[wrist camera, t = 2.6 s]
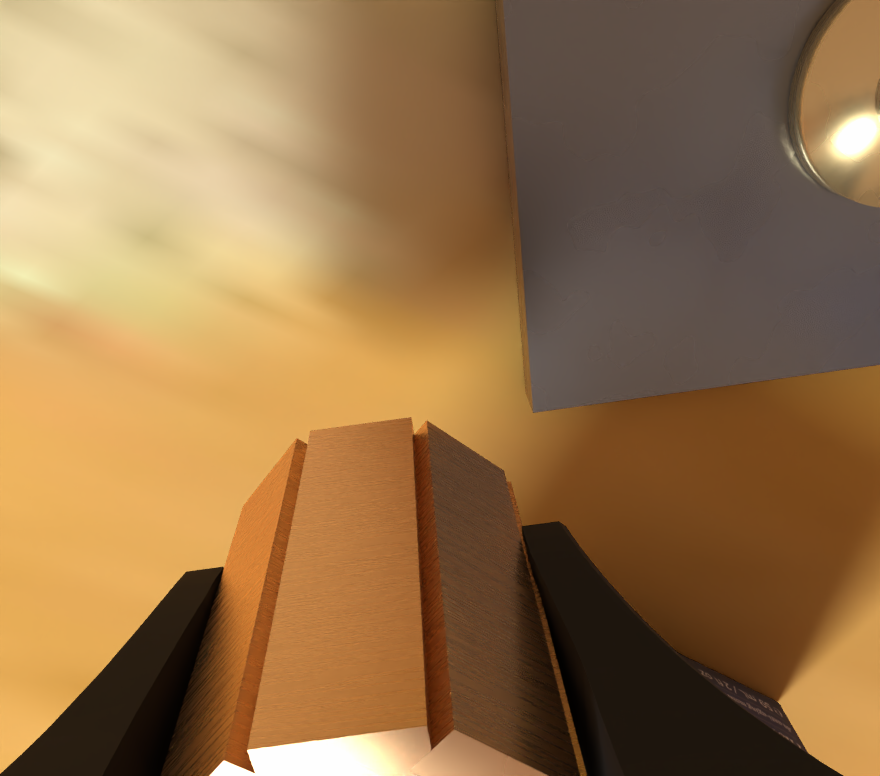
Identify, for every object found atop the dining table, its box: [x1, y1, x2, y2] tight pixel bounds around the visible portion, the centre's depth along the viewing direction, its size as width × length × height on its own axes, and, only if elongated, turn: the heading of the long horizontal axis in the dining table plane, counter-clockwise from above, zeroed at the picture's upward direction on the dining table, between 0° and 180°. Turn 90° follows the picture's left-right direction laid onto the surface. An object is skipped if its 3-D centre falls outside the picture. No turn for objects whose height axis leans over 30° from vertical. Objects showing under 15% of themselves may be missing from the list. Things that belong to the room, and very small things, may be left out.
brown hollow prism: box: [161, 417, 587, 776], centre depth 11 cm, size 5×5×6 cm
